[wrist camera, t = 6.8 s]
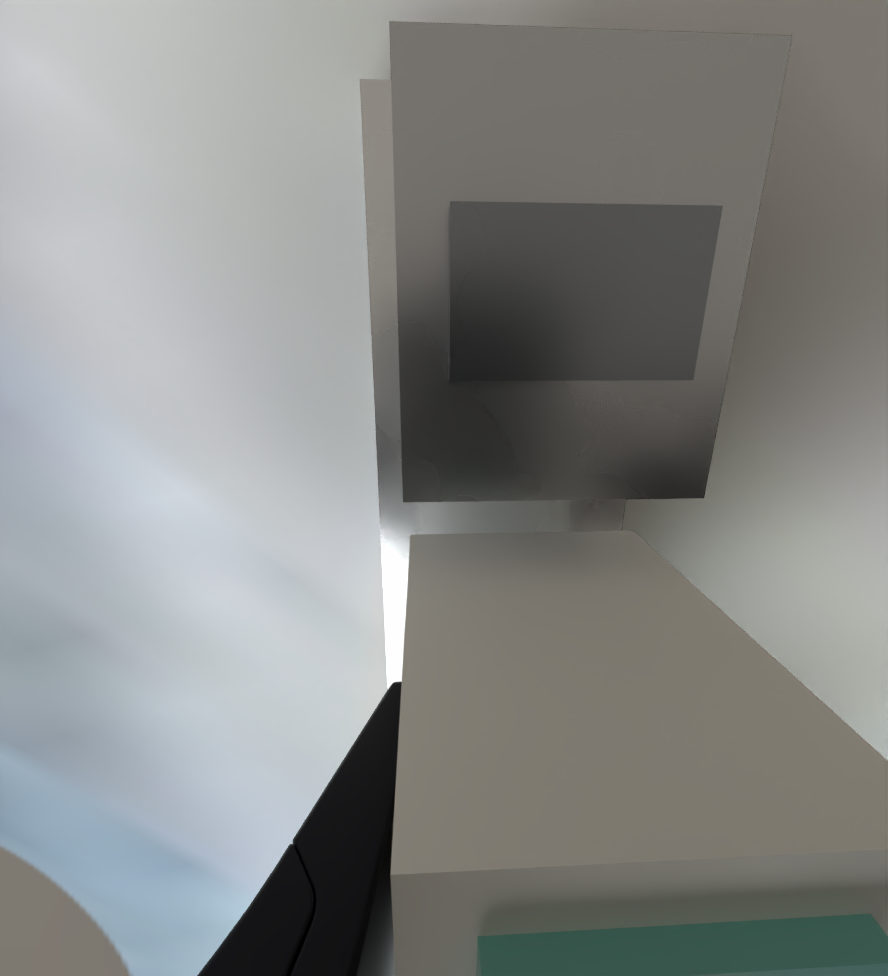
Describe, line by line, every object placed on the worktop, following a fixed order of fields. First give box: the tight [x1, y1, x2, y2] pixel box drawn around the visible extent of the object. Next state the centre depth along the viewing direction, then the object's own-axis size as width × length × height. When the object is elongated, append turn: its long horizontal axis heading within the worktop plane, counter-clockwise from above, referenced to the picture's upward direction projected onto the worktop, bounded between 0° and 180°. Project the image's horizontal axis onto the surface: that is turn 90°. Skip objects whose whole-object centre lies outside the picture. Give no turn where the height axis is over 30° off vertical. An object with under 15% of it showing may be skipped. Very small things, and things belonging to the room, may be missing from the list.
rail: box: [360, 21, 792, 689], centre depth 10 cm, size 6×22×6 cm, turn 0°
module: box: [390, 531, 888, 976], centre depth 7 cm, size 4×6×6 cm
